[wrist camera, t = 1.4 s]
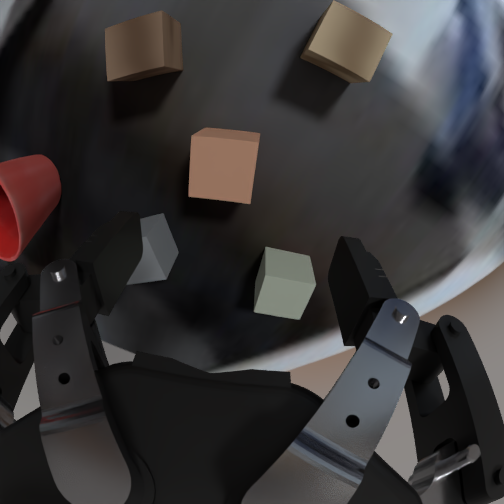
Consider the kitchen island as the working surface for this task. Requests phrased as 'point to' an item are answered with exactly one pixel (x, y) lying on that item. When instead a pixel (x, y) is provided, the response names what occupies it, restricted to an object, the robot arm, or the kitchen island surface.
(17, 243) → the flower pot
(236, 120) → the kitchen island surface
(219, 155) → the terracotta cube
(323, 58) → the oak cube
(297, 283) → the sage cube
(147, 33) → the walnut cube
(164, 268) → the slate cube
